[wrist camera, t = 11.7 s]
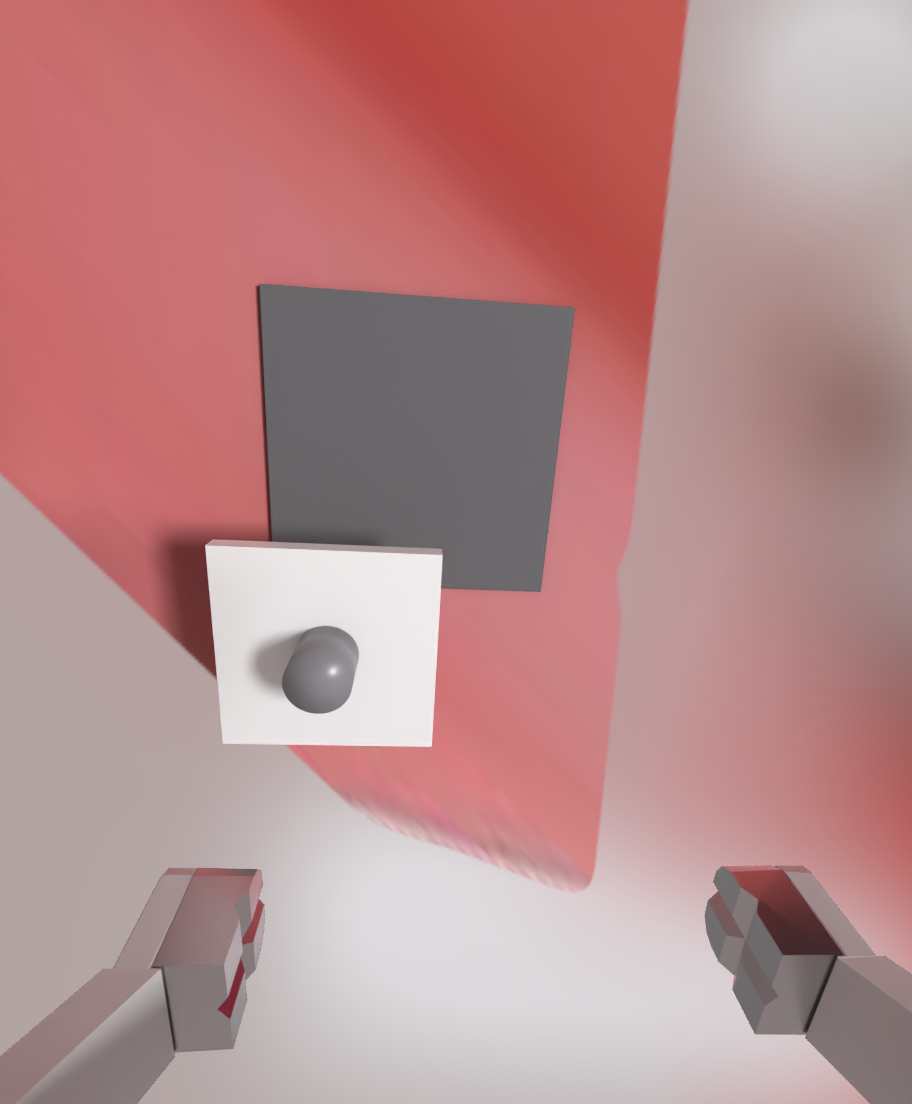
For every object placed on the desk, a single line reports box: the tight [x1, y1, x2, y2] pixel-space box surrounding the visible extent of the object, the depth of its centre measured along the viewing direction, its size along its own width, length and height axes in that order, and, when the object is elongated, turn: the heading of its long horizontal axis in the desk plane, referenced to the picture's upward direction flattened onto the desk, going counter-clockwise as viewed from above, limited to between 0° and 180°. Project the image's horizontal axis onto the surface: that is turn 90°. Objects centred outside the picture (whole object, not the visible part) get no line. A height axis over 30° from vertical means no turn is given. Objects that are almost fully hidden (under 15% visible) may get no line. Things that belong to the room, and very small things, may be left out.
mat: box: [260, 284, 575, 592], centre depth 38 cm, size 20×20×1 cm
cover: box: [205, 539, 443, 747], centre depth 33 cm, size 14×14×5 cm
